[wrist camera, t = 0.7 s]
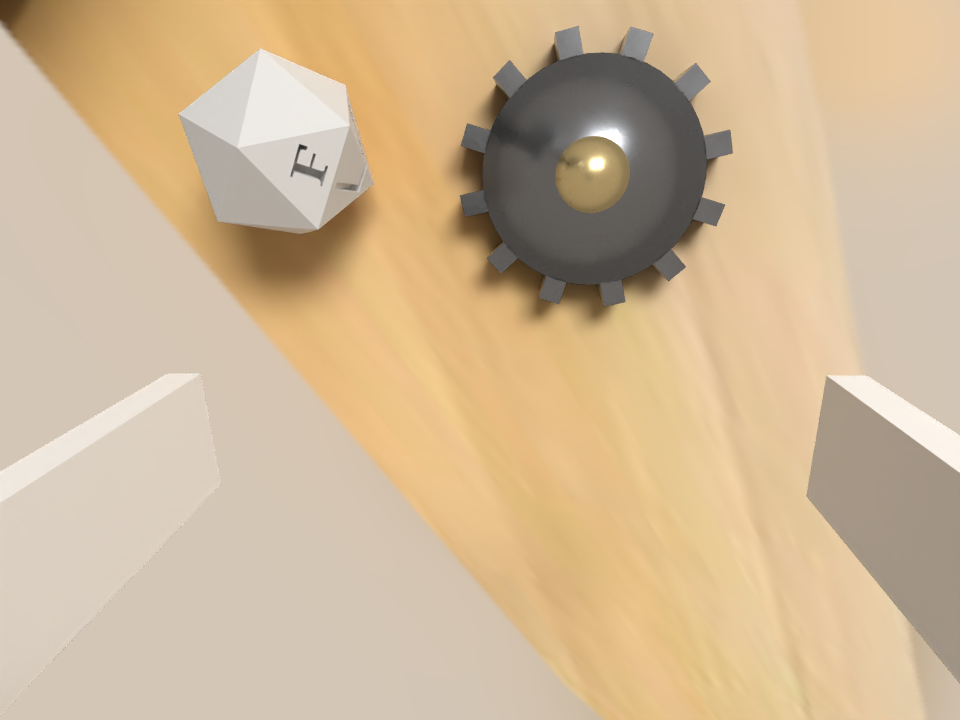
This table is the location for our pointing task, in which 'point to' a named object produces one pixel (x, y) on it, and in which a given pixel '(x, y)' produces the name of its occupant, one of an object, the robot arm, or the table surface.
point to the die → (277, 146)
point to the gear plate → (594, 167)
